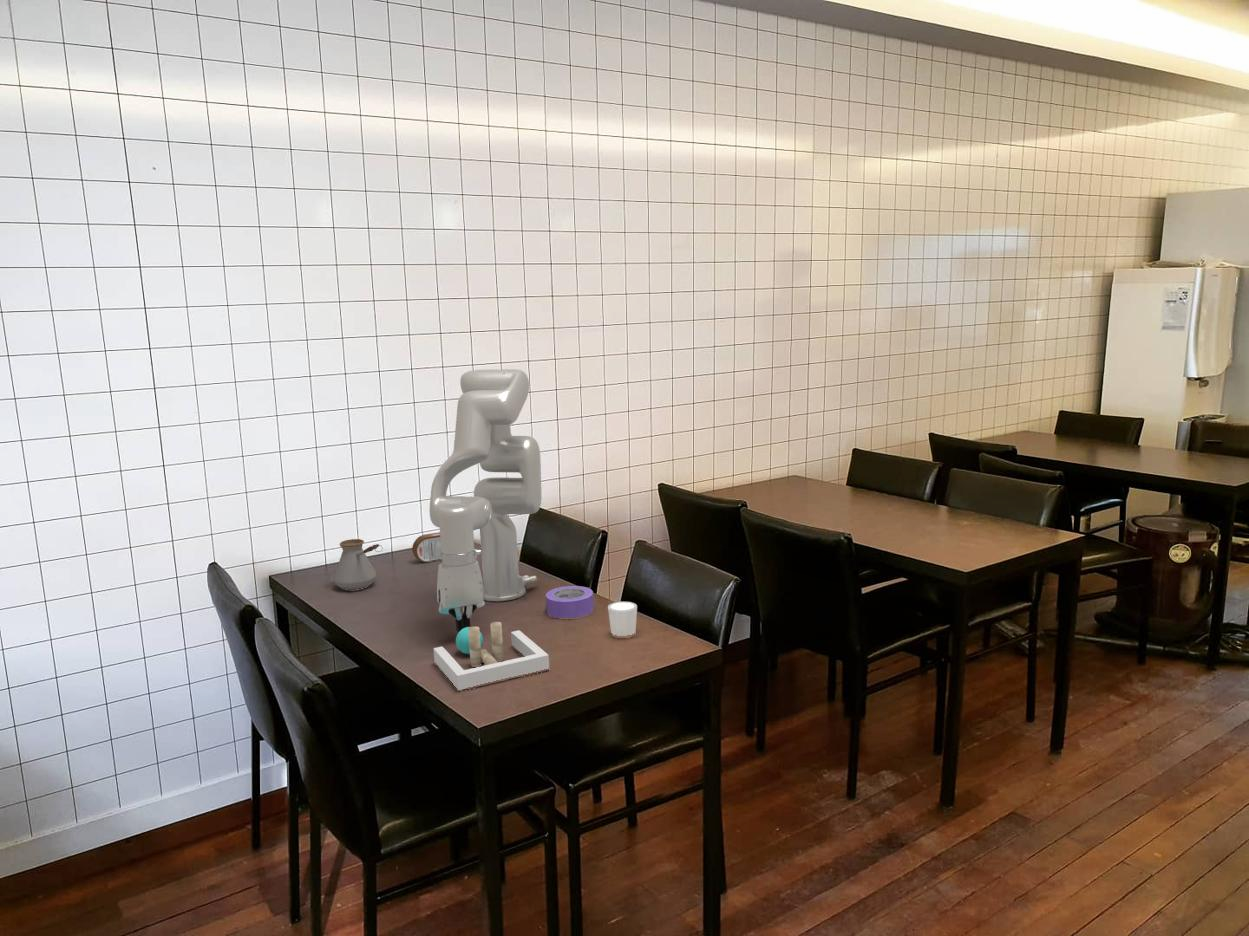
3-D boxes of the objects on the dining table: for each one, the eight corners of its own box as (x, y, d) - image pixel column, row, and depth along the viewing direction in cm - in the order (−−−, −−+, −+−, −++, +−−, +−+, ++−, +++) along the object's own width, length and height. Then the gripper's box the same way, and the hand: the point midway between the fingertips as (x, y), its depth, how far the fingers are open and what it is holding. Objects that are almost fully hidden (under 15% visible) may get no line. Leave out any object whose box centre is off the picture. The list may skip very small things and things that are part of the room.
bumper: (520, 644, 212) (519, 630, 212) (549, 670, 198) (548, 655, 197) (434, 663, 203) (433, 648, 203) (458, 691, 189) (457, 675, 188)
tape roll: (544, 621, 228) (543, 601, 227) (548, 604, 239) (548, 586, 238) (592, 619, 227) (592, 600, 226) (594, 603, 239) (594, 585, 238)
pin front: (487, 647, 205) (499, 661, 198) (488, 657, 206) (501, 671, 198) (476, 650, 204) (489, 664, 197) (478, 660, 205) (490, 674, 197)
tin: (460, 554, 286) (458, 528, 285) (464, 557, 284) (462, 530, 282) (412, 563, 279) (410, 536, 277) (416, 565, 276) (414, 538, 275)
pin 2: (501, 657, 205) (499, 621, 204) (505, 661, 203) (503, 624, 202) (491, 659, 204) (488, 623, 203) (494, 663, 202) (492, 626, 201)
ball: (483, 633, 205) (489, 651, 209) (473, 617, 209) (479, 634, 213) (458, 646, 203) (465, 663, 207) (449, 629, 207) (455, 646, 211)
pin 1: (479, 662, 203) (477, 625, 202) (483, 666, 201) (480, 629, 199) (469, 664, 202) (466, 627, 200) (472, 668, 200) (470, 631, 198)
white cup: (612, 641, 213) (611, 612, 211) (605, 631, 219) (604, 603, 218) (641, 637, 214) (640, 608, 213) (633, 627, 221) (632, 599, 220)
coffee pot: (327, 587, 259) (322, 535, 256) (365, 577, 266) (360, 526, 263) (363, 604, 243) (358, 549, 240) (402, 593, 251) (398, 540, 248)
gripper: (484, 548, 219) (488, 622, 223) (421, 559, 213) (427, 635, 216) (495, 556, 213) (499, 632, 216) (431, 567, 206) (437, 645, 210)
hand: (463, 633), depth 216 cm, fingers closed
